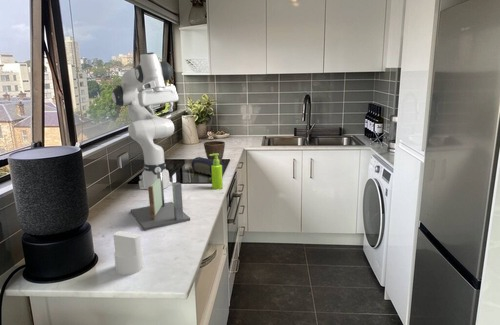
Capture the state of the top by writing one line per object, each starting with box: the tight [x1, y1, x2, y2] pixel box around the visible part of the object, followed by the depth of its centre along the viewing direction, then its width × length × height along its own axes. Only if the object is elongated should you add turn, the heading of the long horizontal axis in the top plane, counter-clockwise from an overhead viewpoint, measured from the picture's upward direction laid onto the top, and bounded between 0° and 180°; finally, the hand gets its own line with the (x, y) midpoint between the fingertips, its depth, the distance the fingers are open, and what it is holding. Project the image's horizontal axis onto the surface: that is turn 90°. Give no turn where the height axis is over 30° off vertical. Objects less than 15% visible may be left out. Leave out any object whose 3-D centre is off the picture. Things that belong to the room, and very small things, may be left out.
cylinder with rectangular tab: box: [112, 230, 145, 276], centre depth 119 cm, size 9×9×12 cm
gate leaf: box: [147, 179, 162, 219], centre depth 163 cm, size 16×2×14 cm, turn 0°
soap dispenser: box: [209, 153, 224, 190], centre depth 203 cm, size 6×7×20 cm
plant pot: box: [203, 140, 226, 163], centre depth 257 cm, size 15×15×16 cm
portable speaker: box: [191, 156, 226, 176], centre depth 235 cm, size 25×10×10 cm, turn 49°
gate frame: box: [130, 171, 191, 231], centre depth 163 cm, size 25×20×18 cm
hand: (162, 113), depth 180 cm, fingers open, 8 cm apart
